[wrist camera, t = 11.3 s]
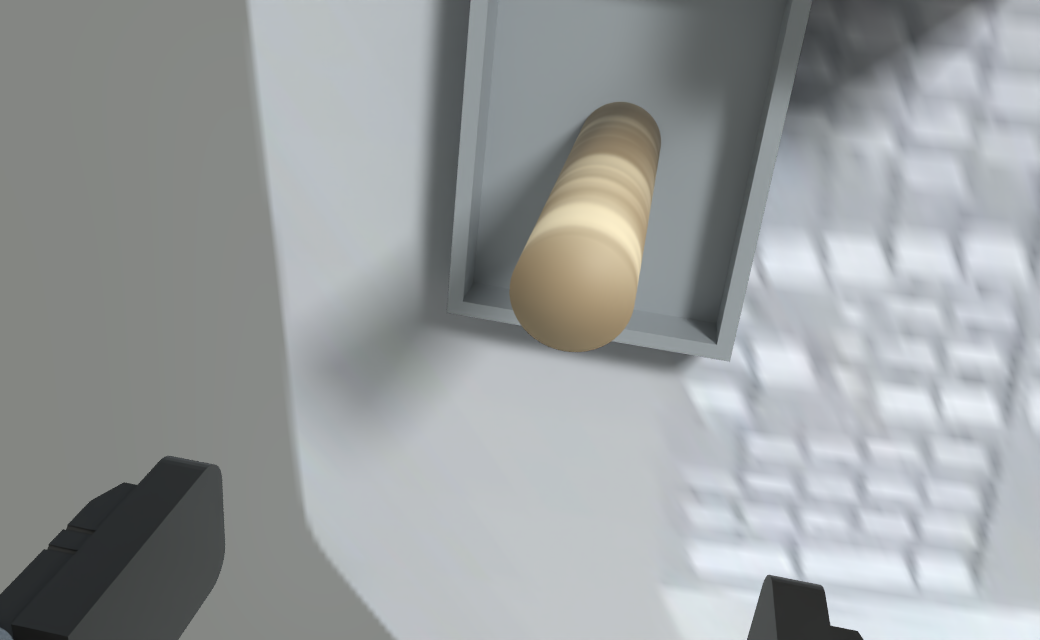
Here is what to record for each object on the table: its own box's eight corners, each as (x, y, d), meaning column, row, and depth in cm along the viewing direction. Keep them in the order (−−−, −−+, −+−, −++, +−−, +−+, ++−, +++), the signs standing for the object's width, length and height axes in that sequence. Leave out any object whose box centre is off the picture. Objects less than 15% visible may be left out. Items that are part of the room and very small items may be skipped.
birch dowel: (585, 96, 34) (515, 226, 22) (667, 108, 34) (644, 247, 22) (574, 175, 36) (503, 340, 23) (653, 187, 35) (624, 361, 23)
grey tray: (492, -89, 33) (477, -86, 31) (814, -50, 32) (822, -44, 30) (461, 287, 39) (446, 312, 37) (728, 332, 38) (729, 361, 36)
